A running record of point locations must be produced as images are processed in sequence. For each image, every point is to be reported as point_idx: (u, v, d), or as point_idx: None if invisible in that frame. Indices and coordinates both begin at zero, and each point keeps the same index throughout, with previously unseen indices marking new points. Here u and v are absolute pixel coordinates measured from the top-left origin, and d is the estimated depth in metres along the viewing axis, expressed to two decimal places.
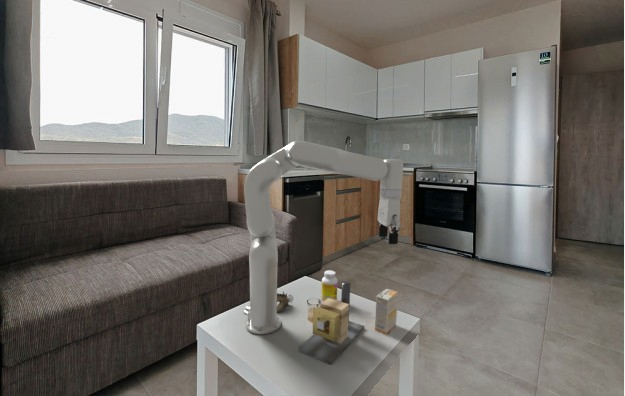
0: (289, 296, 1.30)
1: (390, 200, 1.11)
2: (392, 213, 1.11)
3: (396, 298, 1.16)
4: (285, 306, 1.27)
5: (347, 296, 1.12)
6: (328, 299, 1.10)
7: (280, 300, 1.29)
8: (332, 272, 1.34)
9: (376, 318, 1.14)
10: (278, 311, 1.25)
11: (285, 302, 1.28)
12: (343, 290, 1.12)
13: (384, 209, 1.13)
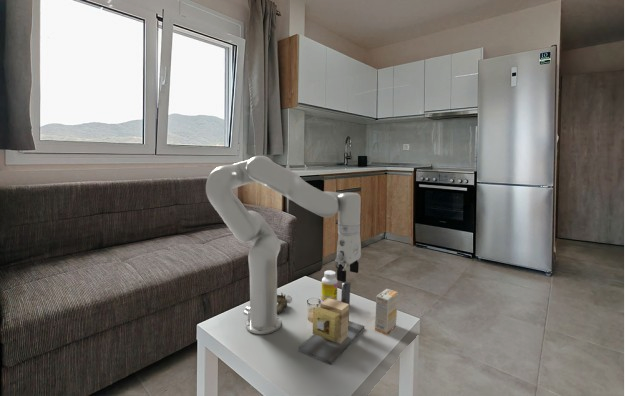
0: (288, 297, 1.29)
1: None
2: None
3: (396, 298, 1.16)
4: (284, 307, 1.26)
5: (347, 296, 1.12)
6: (328, 299, 1.10)
7: (279, 301, 1.28)
8: (332, 272, 1.34)
9: (376, 318, 1.14)
10: (277, 312, 1.24)
11: (284, 303, 1.27)
12: (343, 290, 1.12)
13: (358, 243, 1.11)
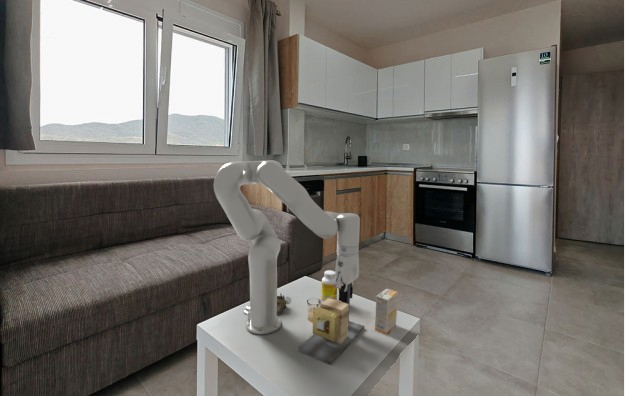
0: (287, 298, 1.28)
1: None
2: None
3: (396, 298, 1.16)
4: (283, 308, 1.25)
5: None
6: (328, 299, 1.10)
7: (278, 302, 1.27)
8: (332, 272, 1.34)
9: (376, 318, 1.14)
10: None
11: (283, 304, 1.27)
12: None
13: (356, 263, 1.12)
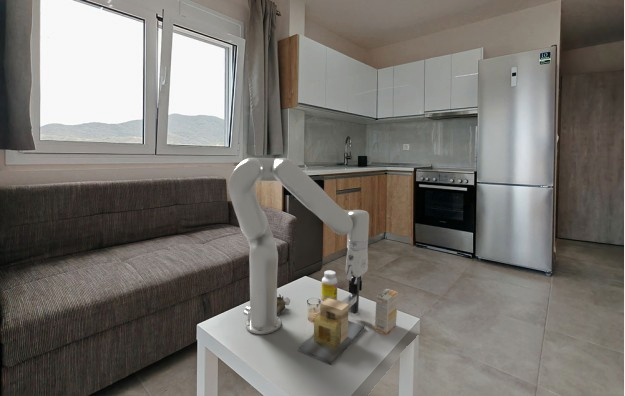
0: (286, 299, 1.27)
1: None
2: None
3: (396, 298, 1.16)
4: (282, 309, 1.24)
5: None
6: (328, 299, 1.10)
7: (277, 303, 1.26)
8: (332, 272, 1.34)
9: (376, 318, 1.14)
10: None
11: (282, 305, 1.26)
12: None
13: (366, 257, 1.19)
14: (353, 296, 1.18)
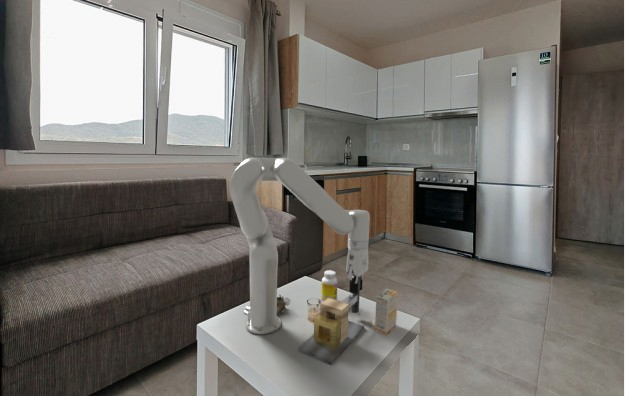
0: (286, 299, 1.27)
1: None
2: None
3: (396, 298, 1.16)
4: (282, 309, 1.24)
5: None
6: (328, 299, 1.10)
7: None
8: (332, 272, 1.34)
9: (376, 318, 1.14)
10: None
11: (282, 305, 1.26)
12: None
13: (366, 257, 1.19)
14: (354, 295, 1.19)
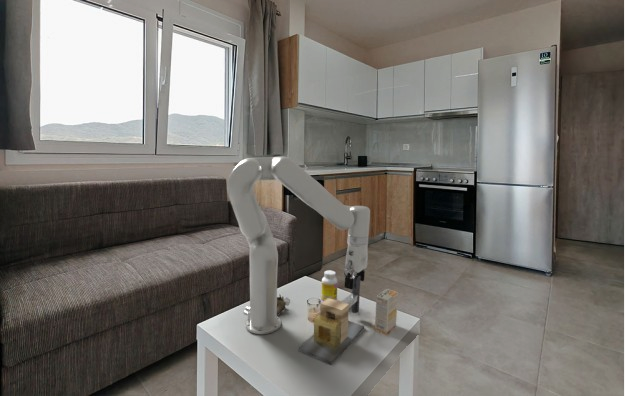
0: (286, 299, 1.27)
1: None
2: None
3: (396, 298, 1.16)
4: (281, 309, 1.24)
5: (357, 288, 1.19)
6: (328, 299, 1.10)
7: None
8: (332, 272, 1.34)
9: (376, 318, 1.14)
10: None
11: (282, 305, 1.26)
12: (354, 282, 1.19)
13: (366, 253, 1.19)
14: (354, 295, 1.19)
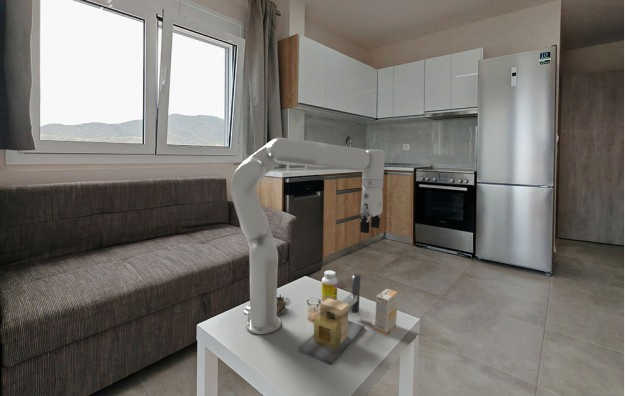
0: (286, 299, 1.27)
1: None
2: None
3: (396, 298, 1.16)
4: (281, 309, 1.24)
5: (357, 288, 1.19)
6: (328, 299, 1.10)
7: None
8: (332, 272, 1.34)
9: (376, 318, 1.14)
10: None
11: (281, 305, 1.26)
12: (354, 282, 1.19)
13: (381, 198, 1.18)
14: (354, 295, 1.19)
